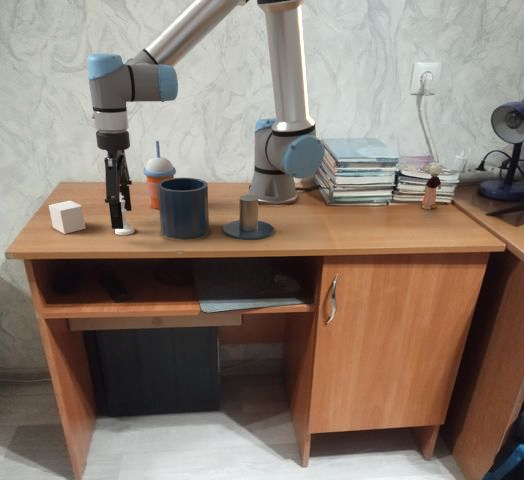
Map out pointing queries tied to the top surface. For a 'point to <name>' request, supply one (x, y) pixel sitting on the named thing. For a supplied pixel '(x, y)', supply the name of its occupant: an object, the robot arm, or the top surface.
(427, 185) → the grandmother figurine
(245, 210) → the tin lid
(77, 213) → the white cube
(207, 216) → the tin
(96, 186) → the top surface
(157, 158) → the cup with straw
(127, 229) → the chess piece
